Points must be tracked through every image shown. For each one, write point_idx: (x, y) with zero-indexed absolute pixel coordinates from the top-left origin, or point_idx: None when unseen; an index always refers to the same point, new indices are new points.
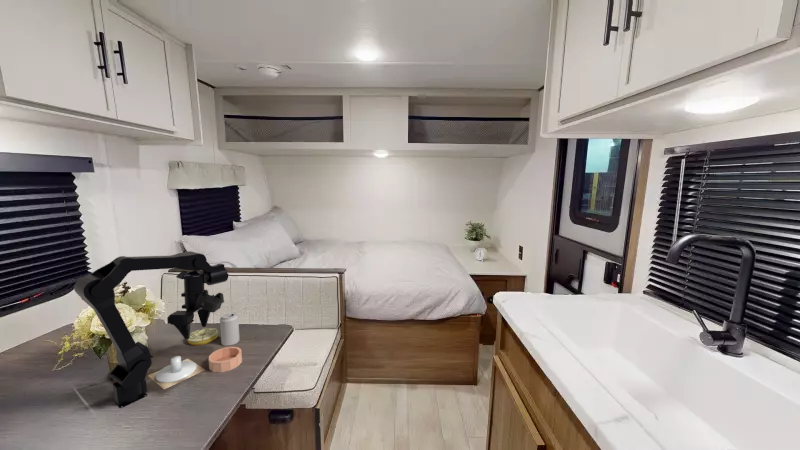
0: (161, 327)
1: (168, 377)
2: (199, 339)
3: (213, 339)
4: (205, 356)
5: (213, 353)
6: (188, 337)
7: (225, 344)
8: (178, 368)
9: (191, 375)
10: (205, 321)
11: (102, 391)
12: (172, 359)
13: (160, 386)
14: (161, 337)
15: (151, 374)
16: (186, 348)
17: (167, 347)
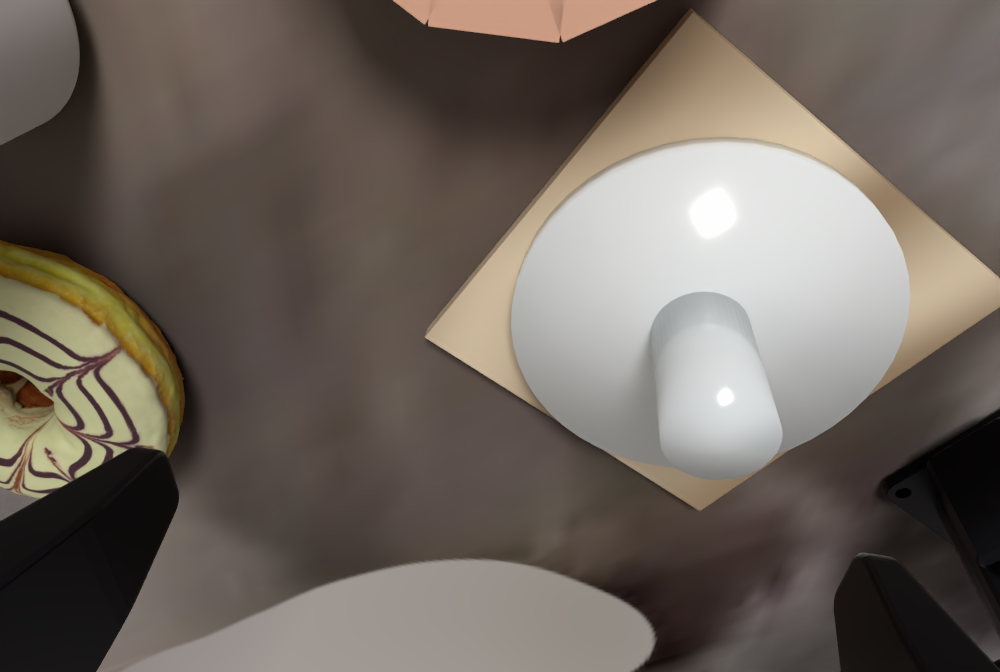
0: None
1: (832, 348)
2: (125, 383)
3: (27, 251)
4: (342, 183)
5: (485, 3)
6: (930, 597)
7: (65, 32)
8: (743, 325)
9: (798, 134)
10: (52, 568)
11: (821, 645)
12: (742, 458)
13: (936, 349)
14: (141, 624)
15: (687, 494)
16: (235, 424)
17: (254, 548)
